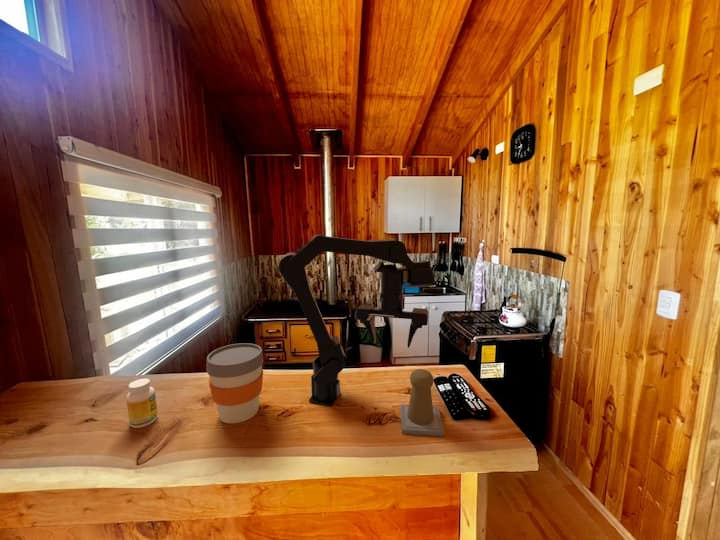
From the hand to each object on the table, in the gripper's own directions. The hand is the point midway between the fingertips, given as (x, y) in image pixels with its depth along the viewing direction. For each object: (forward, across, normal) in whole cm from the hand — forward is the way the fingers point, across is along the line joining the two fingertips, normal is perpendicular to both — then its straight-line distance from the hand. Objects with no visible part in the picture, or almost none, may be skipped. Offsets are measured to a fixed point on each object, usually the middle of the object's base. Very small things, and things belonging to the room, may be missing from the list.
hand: (391, 345), depth 80 cm
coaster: (+13, -9, +11) cm, 19 cm away
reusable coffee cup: (+13, +34, +19) cm, 41 cm away
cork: (+12, -9, +11) cm, 19 cm away
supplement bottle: (+13, +53, +28) cm, 61 cm away
